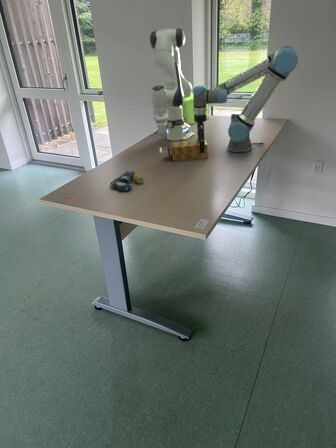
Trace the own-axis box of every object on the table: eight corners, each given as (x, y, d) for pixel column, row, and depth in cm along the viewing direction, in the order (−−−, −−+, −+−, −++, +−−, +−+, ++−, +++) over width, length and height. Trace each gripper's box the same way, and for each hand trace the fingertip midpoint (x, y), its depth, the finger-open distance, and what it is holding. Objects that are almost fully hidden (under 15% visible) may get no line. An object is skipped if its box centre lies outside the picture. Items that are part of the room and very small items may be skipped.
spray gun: (149, 177, 188) (127, 175, 194) (148, 170, 185) (126, 168, 192) (130, 194, 172) (106, 191, 179) (129, 187, 170) (105, 183, 176)
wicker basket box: (172, 161, 208) (171, 147, 203) (171, 155, 217) (170, 142, 213) (207, 158, 207) (207, 144, 203) (205, 152, 217) (205, 139, 212)
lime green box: (191, 115, 302) (190, 88, 290) (208, 118, 288) (208, 90, 276) (170, 121, 289) (168, 93, 277) (187, 125, 275) (185, 95, 263)
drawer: (160, 160, 208) (159, 150, 204) (160, 155, 216) (159, 145, 213) (201, 156, 207) (201, 146, 204) (199, 151, 216) (199, 141, 212)
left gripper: (155, 112, 207) (157, 134, 214) (155, 120, 190) (157, 143, 197) (165, 111, 207) (167, 133, 214) (166, 119, 190) (168, 142, 197)
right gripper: (192, 110, 209) (193, 144, 220) (195, 119, 189) (197, 156, 200) (204, 109, 209) (204, 143, 220) (209, 118, 189) (209, 155, 200)
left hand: (162, 138), depth 205 cm, fingers closed
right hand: (201, 149), depth 210 cm, fingers closed on wicker basket box, 11 cm apart
